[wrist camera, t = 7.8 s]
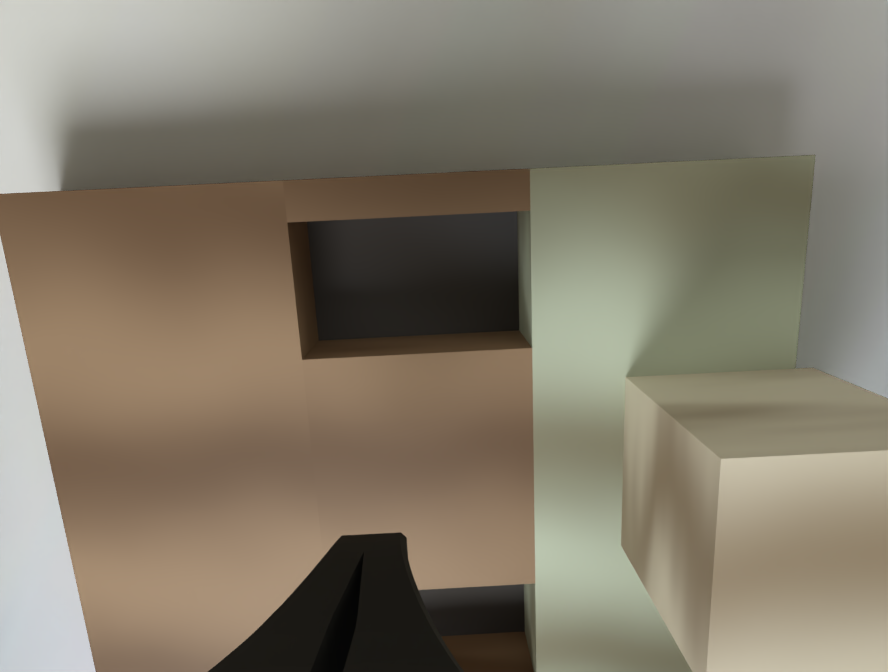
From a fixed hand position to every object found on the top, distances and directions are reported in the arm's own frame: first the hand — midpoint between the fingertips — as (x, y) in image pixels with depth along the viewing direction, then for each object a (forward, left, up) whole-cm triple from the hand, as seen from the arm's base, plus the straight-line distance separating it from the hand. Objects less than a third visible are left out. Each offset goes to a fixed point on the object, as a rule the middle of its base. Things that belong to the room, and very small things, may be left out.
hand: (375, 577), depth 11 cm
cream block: (0, -9, -4) cm, 10 cm away
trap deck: (0, -1, -7) cm, 7 cm away
